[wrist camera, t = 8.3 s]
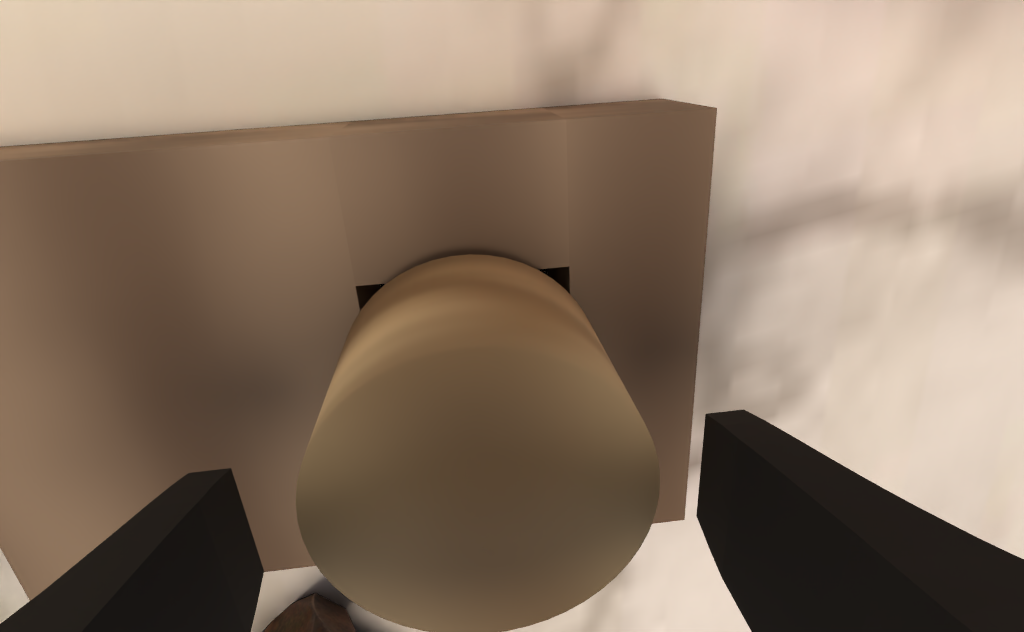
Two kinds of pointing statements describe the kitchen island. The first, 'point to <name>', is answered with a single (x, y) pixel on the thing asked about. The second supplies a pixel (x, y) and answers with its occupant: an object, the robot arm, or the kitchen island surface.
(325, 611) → the bolt
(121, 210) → the brown flat rectangular block
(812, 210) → the kitchen island surface
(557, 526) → the oak peg
